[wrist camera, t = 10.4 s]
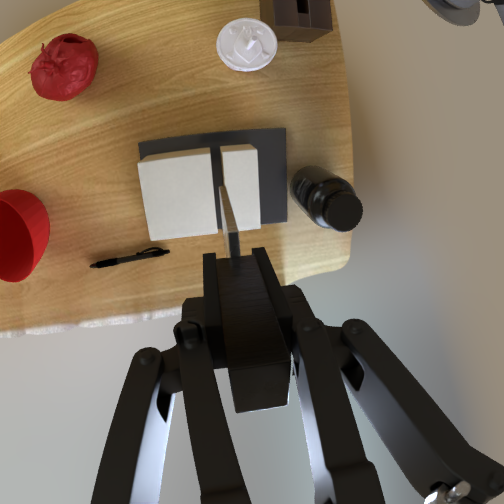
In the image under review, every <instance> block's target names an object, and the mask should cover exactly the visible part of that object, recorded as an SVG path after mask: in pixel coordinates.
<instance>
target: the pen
mask: <svg viewBox="0 0 504 504" xmlns="http://www.w3.org/2000/svg"><path fill="white" fill-rule="evenodd" d="M149 250H156V251H152V252H147V251H149ZM144 252H147V253H144ZM168 253H170V250H163V249H161V248H159V247H152V248H148V249H146V250H144V251H142V252H140V253H139V252H138V253H136V255H131V256H126V257H121V258H112V259H108V260H103V261H98V262H96V263H93V264H91V265H90V268H102V267H108V266H114V265H118V264H120V263H125V262H131V261H136V260H141V259H146V258H152V257H159V256H163V255H164V254H168Z"/></svg>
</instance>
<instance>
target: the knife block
mask: <svg viewBox="0 0 504 504" xmlns="http://www.w3.org/2000/svg"><path fill="white" fill-rule="evenodd" d="M259 4H260V19H261V21H262V22H264V23H265V24H267V25H268V26H269V27H270V28H271V29H272V30H273V32H274V33H275V36H276V38H277V41H293V42H308V43H311V42H313V41H314V40H316V39H318V38H320V37H322V36H324V35H325V34H327V33H329V32H331V31H333V28H332V17H331V7H330V0H259Z"/></svg>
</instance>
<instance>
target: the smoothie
mask: <svg viewBox="0 0 504 504" xmlns="http://www.w3.org/2000/svg"><path fill="white" fill-rule="evenodd" d="M216 48H217V53H218V55H219V56H220V58H221V60H222V61H223V62H224V63H225V64H226V65H227V66H228V67H229V68H230V69H232V70H236V71H255V70H258V69H260V68H263V67H264V66H266V65H267V64H268V63H269V62H270V61H271V60H272V59H273V57H274V56H275V54H276V51H277V38H276V36H275V33H274V32H273V30H272V29H271V28H270V27H269V26H268V25H267V24H265V23H264V22H262V21H260V20H257V19H253V18H240V19H236V20H234V21H231V22H230V23H228V24H227V25H225V26H224V27H223V29H222V30H221V31H220V33H219V35H218V38H217V42H216Z"/></svg>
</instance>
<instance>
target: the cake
mask: <svg viewBox="0 0 504 504" xmlns="http://www.w3.org/2000/svg"><path fill="white" fill-rule="evenodd" d="M137 164H138V171H139V178H140V184H141V191H142V196H143V202H144V208H145V213H146V219H147V224H148V229H149V234H150V239H151V241H154V240H162V239H171V238H179V237H188V236H196V235H205V234H214V233H218V229H217V220H216V210H215V200H214V189H213V178H212V167H211V155H210V148H199V149H191V150H183V151H175V152H168V153H161V154H154V155H148V156H146V157H145V158H144V159H142V160H141V161H140V162H139V163H137Z"/></svg>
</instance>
